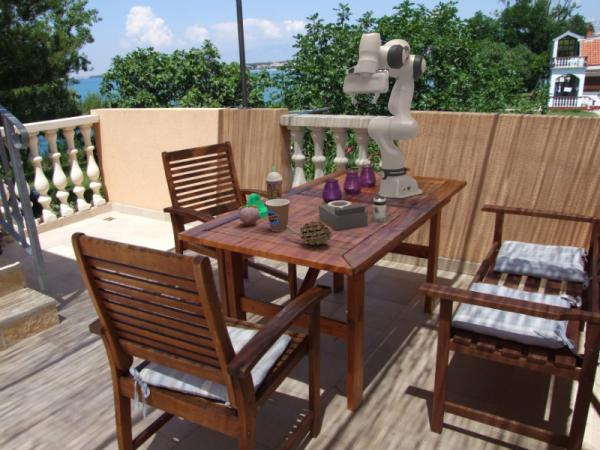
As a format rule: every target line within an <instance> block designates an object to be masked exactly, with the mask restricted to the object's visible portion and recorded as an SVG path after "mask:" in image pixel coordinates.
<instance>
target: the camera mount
mask: <svg viewBox="0 0 600 450" xmlns="http://www.w3.org/2000/svg"><path fill="white" fill-rule="evenodd" d="M261 197H262V196H261V195H260V194H259V193H254V192H253V193H251V194H250V195H249V197H248V198H247V199H248V200H247V202H246V205H245V206H247V203H248V205H257V206H258V207H259V208H258V207H256V208H257V209H258V211H259V218H258V219H262V218H265V217H268V212H267V207H266V204H264V202H263V201H262V200H261V199H262V198H261Z"/></svg>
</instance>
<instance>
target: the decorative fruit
mask: <svg viewBox="0 0 600 450" xmlns="http://www.w3.org/2000/svg"><path fill="white" fill-rule="evenodd" d="M246 204H247V206H246V205H241V206H239V207H238V209H237V211H238V218H239V221H240V222H241V223H243V224H244V225H248V226H251V225H253V224H255V223H256V221H257V222H258V220H259V219H260V218H259V211H258V209H257V208H256V207H258V206H257V205H248V203H247V202H246ZM258 208H259V207H258Z"/></svg>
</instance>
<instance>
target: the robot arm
mask: <svg viewBox="0 0 600 450" xmlns="http://www.w3.org/2000/svg"><path fill="white" fill-rule="evenodd" d="M410 53H411V46H410V44H409V42H407V41H406V40H405V39H401V38H396V39H390V40H389V41H387V42H386V43H384V44H383V45H381V34H380V33H379V32H375V31H368V32H364V33H362V35H361V37H360V42H359V48H358V60H357V64H356V65H354V66H352V67H349V68H347V69H346V71H345V73H346V76H345V77H344V79H343V80H344V81H343V87H342V91H343V93H344V94H346V95H349V97H350V98H351V104H352V105H357V102H358V100H357V99H356V98H355V97H356V95H359V94H360V95H364V94H365V95H366V94H374V97H373V98H371V101H370V102H371V104H372V105H376V104H377V100H378V99H379V97H380V96H381V95H380V94H386V93H387V92H388V91H389V87H390V86H389V83H390V82H389V79H390V78H396V81H395V83H394V85H393V87H392V90H391V93H390V96H389V100H388V104H387V109H388V111H389V113H390V114H392V115H393V116H394V117H377V118H376V117H375V118H372V119H371V120H370V121H369V123H368V125H367V133H368V135H369V137H370V138H371V139H372V140H373V141H375V144H377V145H378V148H379V151H380V156H381V158H380V159H381V167H380V186H379V190H378V195H379V197H386V198H393V199H394V198H396V199H404V198H409V197H413V196H417V195H422V194H423V190H422V189H420V188H419V184H418V182H417V180H416V179H415V178H413V177H412V176H410V175H409V174H408V173H410V172H411V168H410V167H406V166H404V165H405V163H404V162H405V158H404V157H405V154H404V151H403V149H401V148H400V147H398V146H397V145H395V143H394V141H408V140H409V141H410V140H414V139H415V138H416V137H417V136H418V134H419V131H420V126H419V123H418V122H417V120H416V119H415V118H414V117H412V115H411V114H412V113H411V106H412V102H413V98H414V92H415V91H414V90H415V82H416V81H418V80H419V79H420V78H422V76H423V75H424V73H425V71H426V68H427V61H426V58H425V57H424V55H421V54H410ZM414 81H415V82H414Z"/></svg>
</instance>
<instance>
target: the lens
mask: <svg viewBox="0 0 600 450" xmlns="http://www.w3.org/2000/svg"><path fill="white" fill-rule="evenodd" d="M372 204H373V222H375V223H384V222H387V197H383V196H375V197H373V200H372Z"/></svg>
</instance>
